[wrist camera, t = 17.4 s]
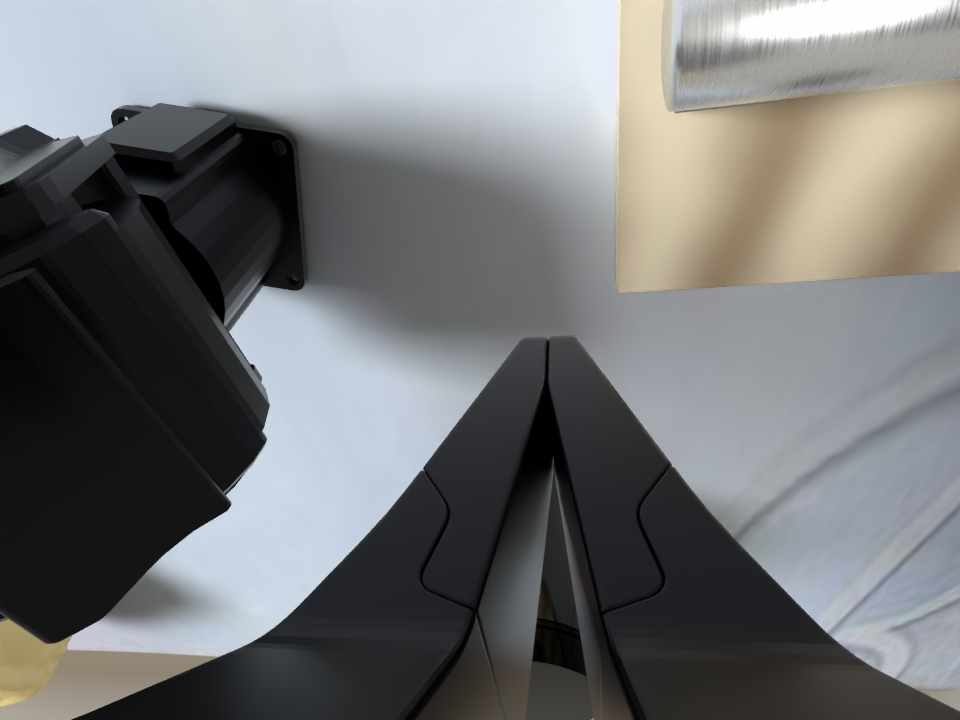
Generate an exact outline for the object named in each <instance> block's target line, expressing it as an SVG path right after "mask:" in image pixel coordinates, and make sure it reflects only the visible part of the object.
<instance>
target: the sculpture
mask: <svg viewBox="0 0 960 720" xmlns="http://www.w3.org/2000/svg"><path fill="white" fill-rule="evenodd" d="M71 637H72V636H70V637H68V638H66V639H64V640H62V641H60V642H57V643H53V644H46V643H43V642H42V641H40V640H39V639H37V638H36V637H34V636H33V635H31V634H30V633H28V632H27V631H25V630H24V629H22V628H21V627H20V626H18V625H17V624H15V623H14V622H12V621H11V620H9V619H8V620H5V621H2V622H0V707H2V706H5V705H10V704H14V703H17V702H20V701H23V700H26V699H28V698H30V697H32V696H33V695H34V694H36V693H37V692H38V691H39V690H41V689H42V688H43V687H44V686H45V685H46V684H47V683H48V682H49V680H50V678H51V676H52V674H53V672H54V670H55V668H56V666H57V664H58V662H59V660H60V659H61V657H62V656H63V655H64V654H65V652H66V650H67V643H68V642H69V641H70V639H71Z"/></svg>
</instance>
